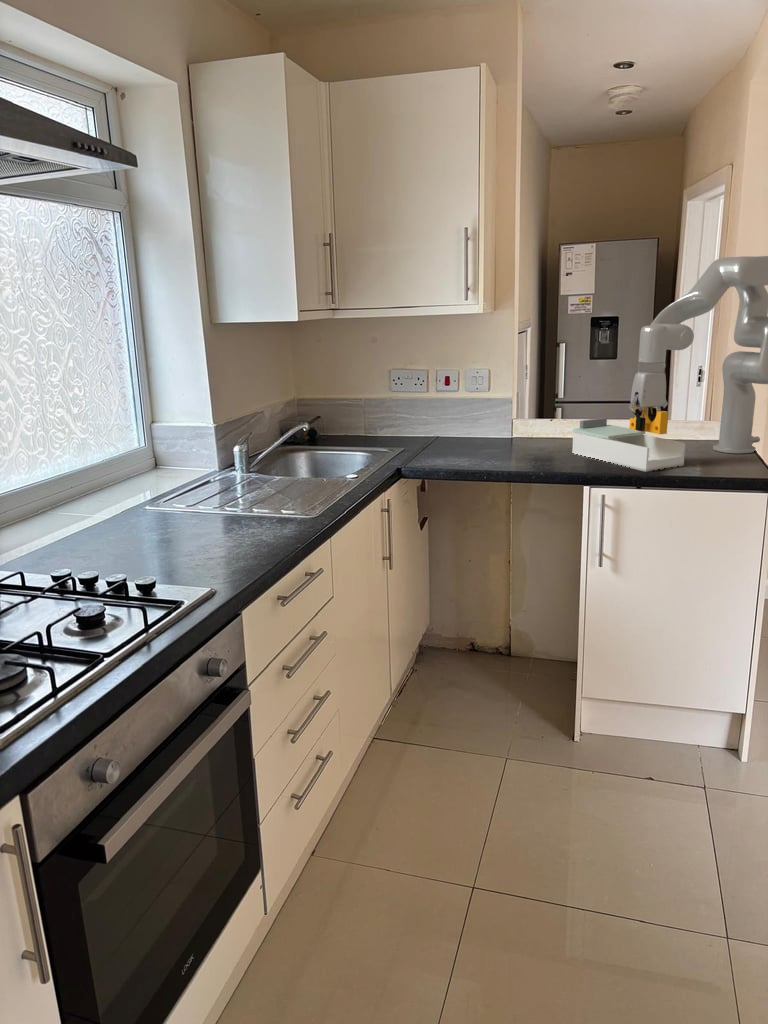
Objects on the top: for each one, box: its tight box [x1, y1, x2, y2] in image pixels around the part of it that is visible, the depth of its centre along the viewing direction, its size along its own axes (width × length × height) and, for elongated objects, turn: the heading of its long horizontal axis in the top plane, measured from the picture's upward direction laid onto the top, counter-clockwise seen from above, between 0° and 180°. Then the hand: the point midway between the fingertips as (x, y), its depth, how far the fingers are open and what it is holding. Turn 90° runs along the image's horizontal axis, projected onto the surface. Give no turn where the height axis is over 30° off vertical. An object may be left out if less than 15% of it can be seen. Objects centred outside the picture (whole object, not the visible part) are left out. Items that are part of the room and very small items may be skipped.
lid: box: [572, 417, 646, 439], centre depth 249 cm, size 15×16×3 cm
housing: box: [571, 431, 686, 473], centre depth 244 cm, size 15×32×7 cm, turn 27°
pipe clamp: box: [628, 408, 669, 435], centre depth 234 cm, size 12×4×6 cm, turn 19°
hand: (646, 429), depth 235 cm, fingers closed on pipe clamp, 4 cm apart
